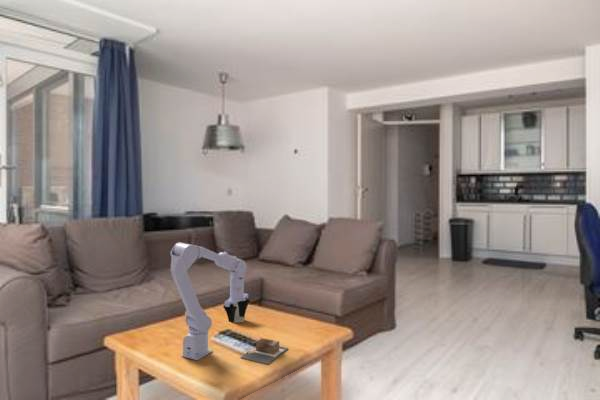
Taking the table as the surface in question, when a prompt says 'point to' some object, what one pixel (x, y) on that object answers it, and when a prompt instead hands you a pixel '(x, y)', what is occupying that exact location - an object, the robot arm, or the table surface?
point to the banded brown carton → (267, 346)
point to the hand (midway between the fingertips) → (236, 319)
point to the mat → (264, 356)
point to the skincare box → (237, 317)
